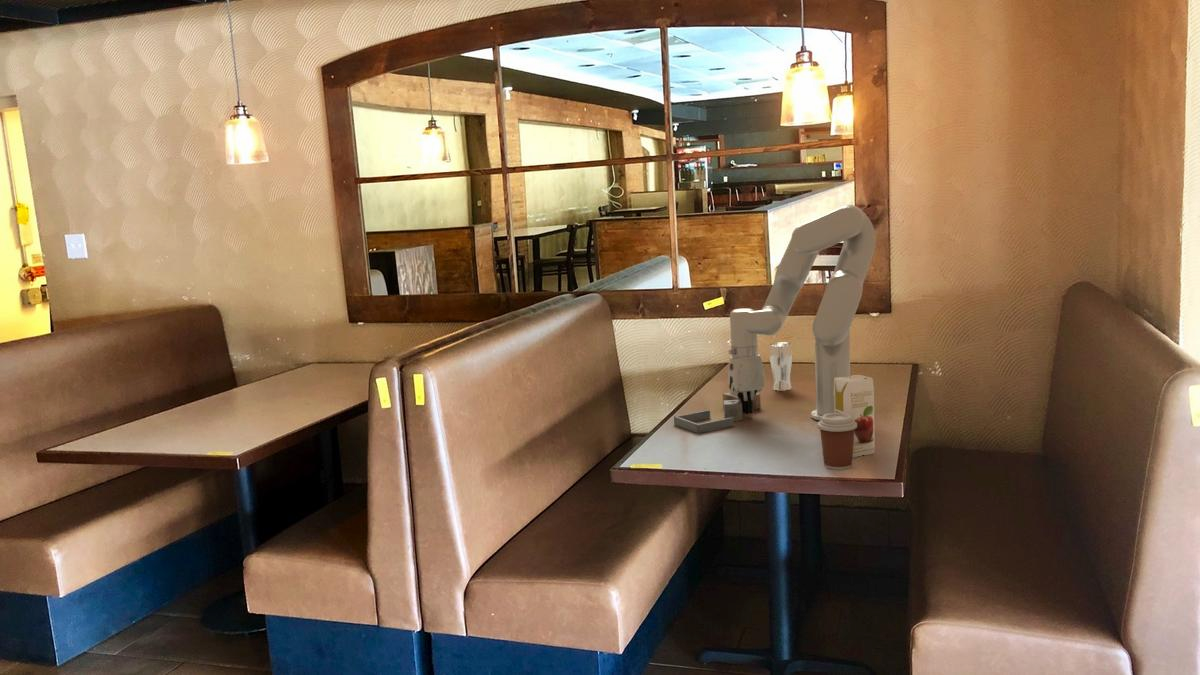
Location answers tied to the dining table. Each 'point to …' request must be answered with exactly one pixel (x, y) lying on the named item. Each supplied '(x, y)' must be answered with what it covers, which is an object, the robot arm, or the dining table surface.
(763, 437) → the dining table surface
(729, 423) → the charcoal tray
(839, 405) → the juice carton
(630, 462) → the dining table surface
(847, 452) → the coffee cup
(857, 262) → the robot arm
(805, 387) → the dining table surface
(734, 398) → the walnut block
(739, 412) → the dice cube
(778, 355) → the beer glass
